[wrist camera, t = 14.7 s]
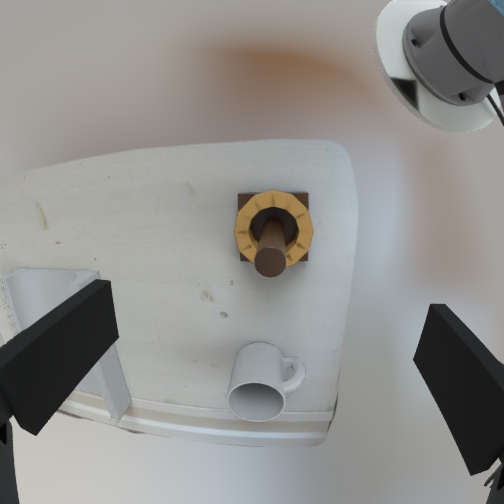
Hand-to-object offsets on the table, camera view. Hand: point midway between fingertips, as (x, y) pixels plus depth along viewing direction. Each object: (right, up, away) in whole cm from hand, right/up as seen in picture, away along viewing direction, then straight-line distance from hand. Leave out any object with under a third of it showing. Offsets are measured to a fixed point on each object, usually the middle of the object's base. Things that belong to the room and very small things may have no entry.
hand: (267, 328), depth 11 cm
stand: (+2, +6, +25) cm, 26 cm away
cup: (+2, -12, +31) cm, 33 cm away
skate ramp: (-34, -12, +34) cm, 49 cm away
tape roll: (+2, +6, +24) cm, 25 cm away
